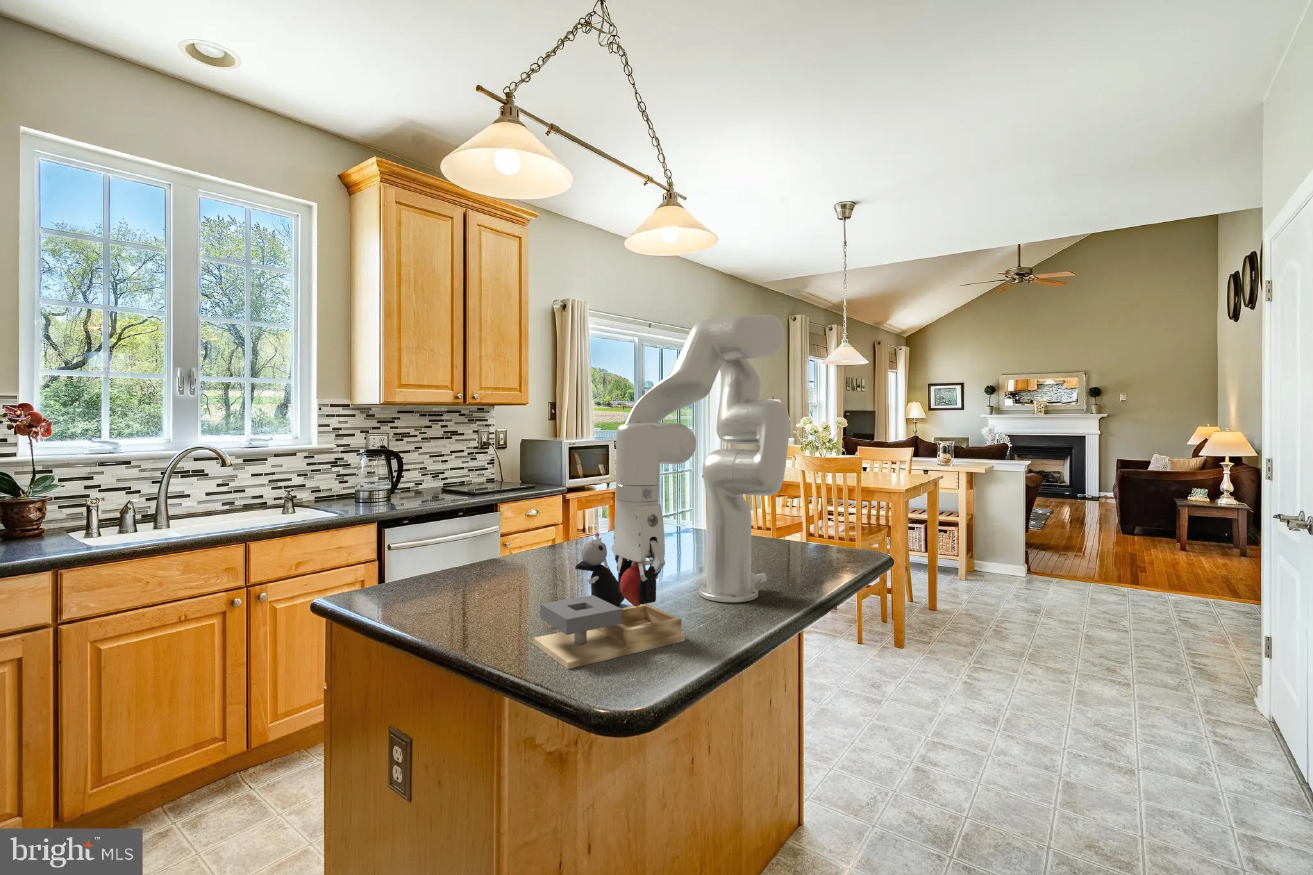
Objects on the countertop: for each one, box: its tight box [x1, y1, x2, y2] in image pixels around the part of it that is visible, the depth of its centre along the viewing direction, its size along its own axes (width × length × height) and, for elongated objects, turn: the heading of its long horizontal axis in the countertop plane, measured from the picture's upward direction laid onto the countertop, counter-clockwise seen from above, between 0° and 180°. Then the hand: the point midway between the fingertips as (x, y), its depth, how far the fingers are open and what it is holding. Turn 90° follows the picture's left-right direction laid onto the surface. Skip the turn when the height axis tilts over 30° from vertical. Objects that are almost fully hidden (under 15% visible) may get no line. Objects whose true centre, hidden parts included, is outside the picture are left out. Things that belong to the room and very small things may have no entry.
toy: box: [574, 533, 626, 607], centre depth 123 cm, size 12×7×15 cm, turn 168°
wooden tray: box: [532, 603, 686, 670], centre depth 105 cm, size 22×13×6 cm, turn 124°
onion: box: [620, 562, 648, 607], centre depth 108 cm, size 6×6×8 cm
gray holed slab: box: [539, 594, 622, 635], centre depth 102 cm, size 10×10×2 cm
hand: (636, 597), depth 108 cm, fingers closed on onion, 5 cm apart
